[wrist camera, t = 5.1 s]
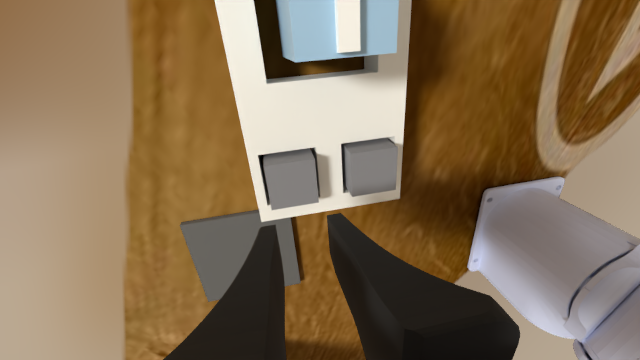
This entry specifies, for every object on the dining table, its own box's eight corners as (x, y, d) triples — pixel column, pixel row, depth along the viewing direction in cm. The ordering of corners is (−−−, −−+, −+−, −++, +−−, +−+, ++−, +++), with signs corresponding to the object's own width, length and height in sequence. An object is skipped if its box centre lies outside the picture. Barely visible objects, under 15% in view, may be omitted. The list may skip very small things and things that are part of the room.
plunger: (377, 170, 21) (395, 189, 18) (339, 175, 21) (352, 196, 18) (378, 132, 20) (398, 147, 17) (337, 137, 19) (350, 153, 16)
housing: (386, 183, 22) (399, 198, 20) (261, 203, 21) (261, 222, 19) (394, -75, 15) (417, -96, 13) (206, -69, 14) (195, -91, 12)
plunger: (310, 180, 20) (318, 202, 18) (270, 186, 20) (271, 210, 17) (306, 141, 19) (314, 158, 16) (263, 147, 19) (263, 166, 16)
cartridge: (345, 50, 17) (401, 53, 10) (282, 56, 17) (296, 62, 10) (343, -27, 16) (408, -88, 9) (272, -24, 15) (280, -84, 8)
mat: (299, 279, 25) (300, 283, 25) (209, 297, 24) (208, 301, 24) (288, 204, 21) (289, 207, 21) (181, 222, 20) (179, 225, 20)
